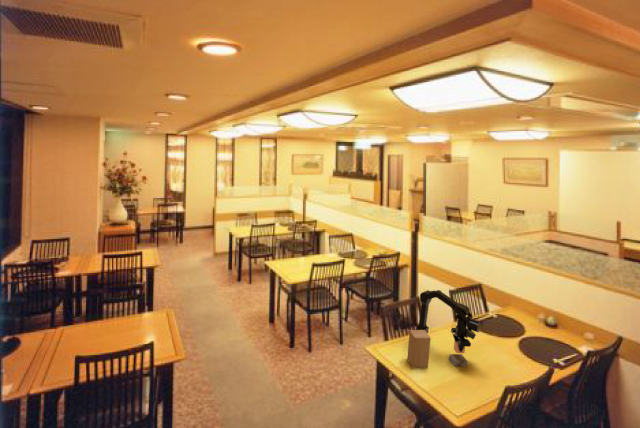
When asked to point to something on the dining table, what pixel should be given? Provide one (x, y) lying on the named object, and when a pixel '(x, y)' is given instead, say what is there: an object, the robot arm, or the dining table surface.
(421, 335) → the wooden block
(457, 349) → the terracotta cube
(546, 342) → the dining table surface
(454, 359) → the charcoal plinth
